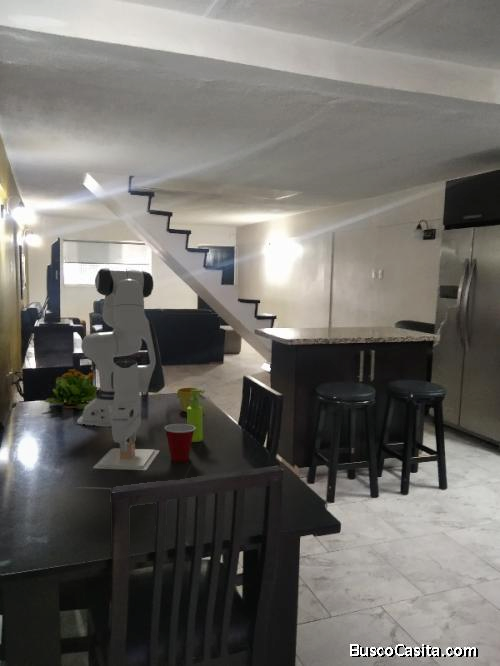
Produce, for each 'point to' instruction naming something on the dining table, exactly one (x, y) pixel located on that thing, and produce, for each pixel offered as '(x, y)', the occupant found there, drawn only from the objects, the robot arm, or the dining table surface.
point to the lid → (127, 457)
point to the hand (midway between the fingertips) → (128, 446)
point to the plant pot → (185, 397)
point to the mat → (129, 468)
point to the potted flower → (74, 390)
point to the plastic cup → (179, 440)
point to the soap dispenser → (195, 416)
